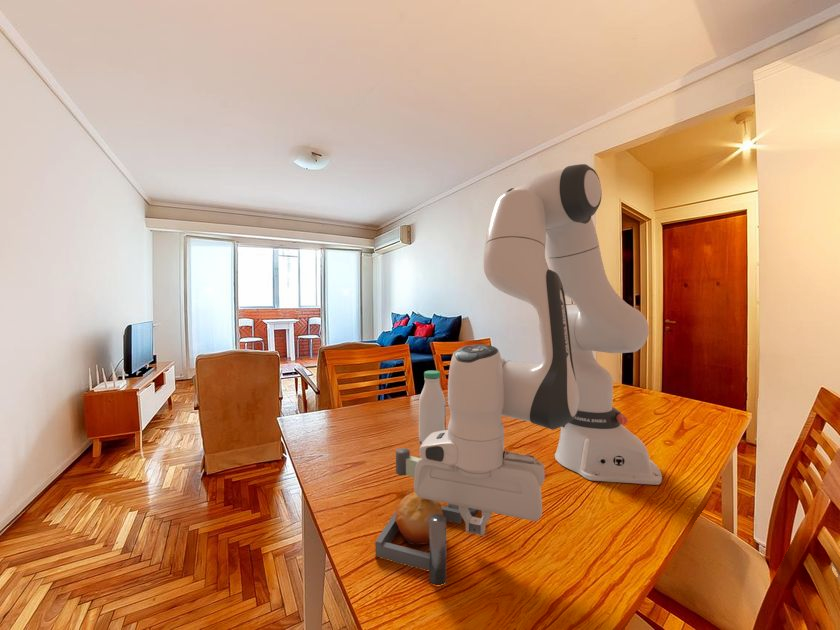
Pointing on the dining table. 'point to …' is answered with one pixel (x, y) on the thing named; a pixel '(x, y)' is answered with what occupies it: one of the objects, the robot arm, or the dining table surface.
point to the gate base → (472, 511)
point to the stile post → (437, 549)
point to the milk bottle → (431, 406)
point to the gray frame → (404, 553)
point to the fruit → (416, 518)
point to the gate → (405, 462)
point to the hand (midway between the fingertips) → (475, 531)
